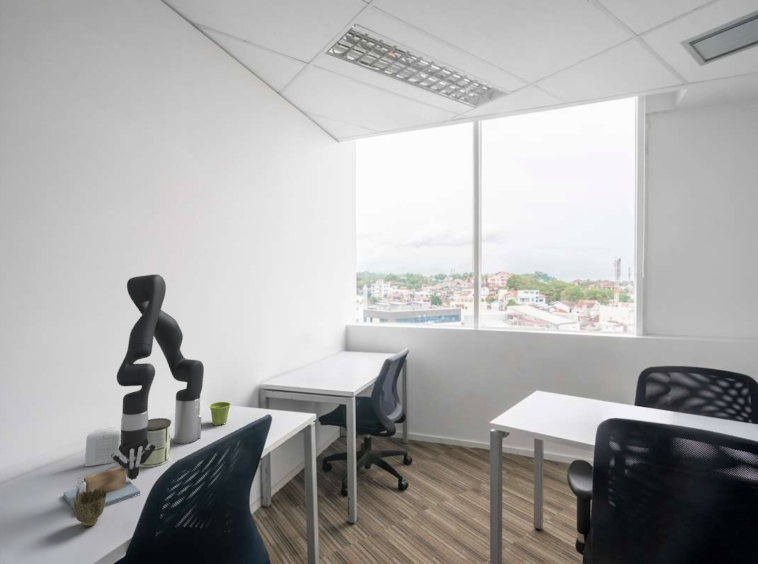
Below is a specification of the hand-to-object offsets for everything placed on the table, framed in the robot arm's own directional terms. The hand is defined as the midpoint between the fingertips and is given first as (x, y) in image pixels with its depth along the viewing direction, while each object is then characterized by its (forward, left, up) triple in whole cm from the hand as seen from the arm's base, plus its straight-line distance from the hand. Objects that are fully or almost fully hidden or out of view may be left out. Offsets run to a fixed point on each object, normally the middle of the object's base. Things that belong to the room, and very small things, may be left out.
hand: (132, 478), depth 132 cm
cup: (+15, +14, -3) cm, 21 cm away
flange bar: (+8, 0, -1) cm, 8 cm away
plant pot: (-48, -32, -3) cm, 57 cm away
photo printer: (+1, -24, -3) cm, 24 cm away
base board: (+8, 0, -2) cm, 9 cm away
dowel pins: (+14, 0, -1) cm, 14 cm away
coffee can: (-12, -13, -3) cm, 18 cm away
